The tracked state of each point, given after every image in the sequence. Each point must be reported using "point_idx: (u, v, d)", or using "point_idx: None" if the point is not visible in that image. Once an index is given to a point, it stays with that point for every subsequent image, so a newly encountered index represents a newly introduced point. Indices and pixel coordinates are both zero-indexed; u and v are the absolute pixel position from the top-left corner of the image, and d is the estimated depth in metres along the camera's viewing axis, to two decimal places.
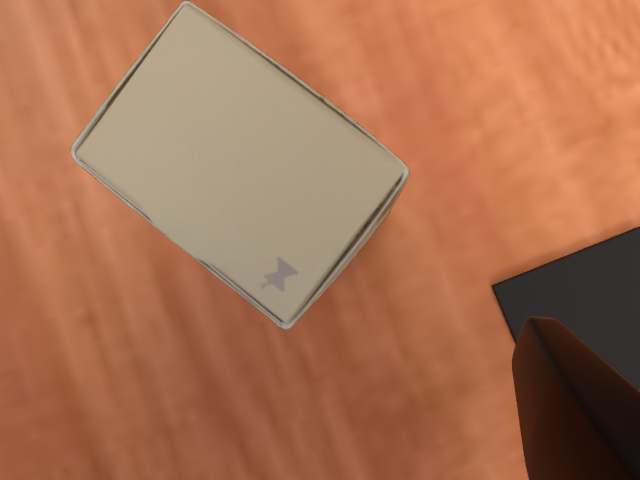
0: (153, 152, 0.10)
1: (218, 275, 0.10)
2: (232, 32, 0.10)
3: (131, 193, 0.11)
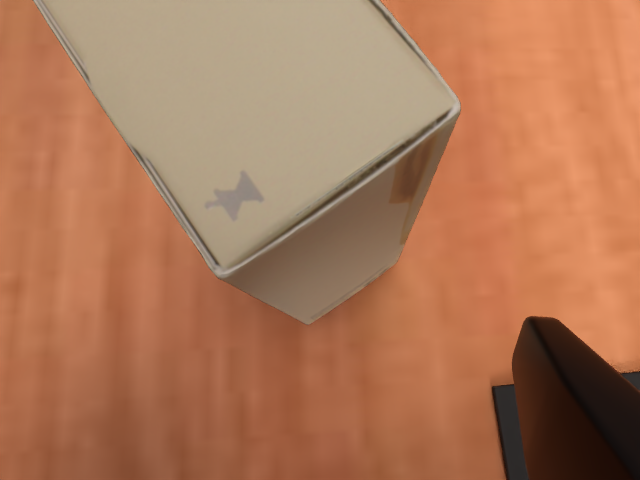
0: None
1: (152, 176, 0.07)
2: None
3: (78, 40, 0.08)
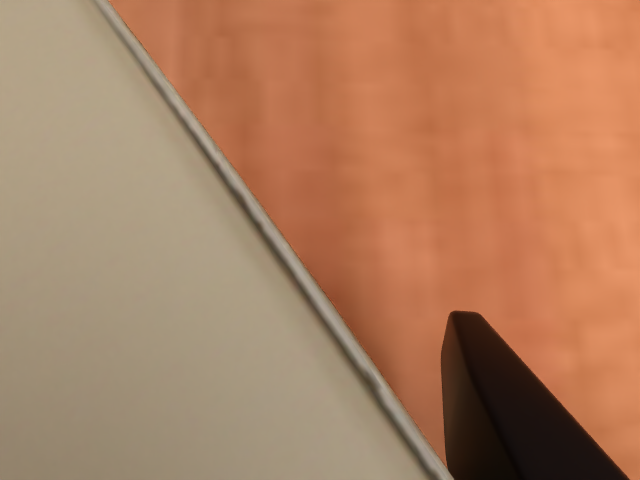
0: None
1: None
2: (129, 40, 0.03)
3: None
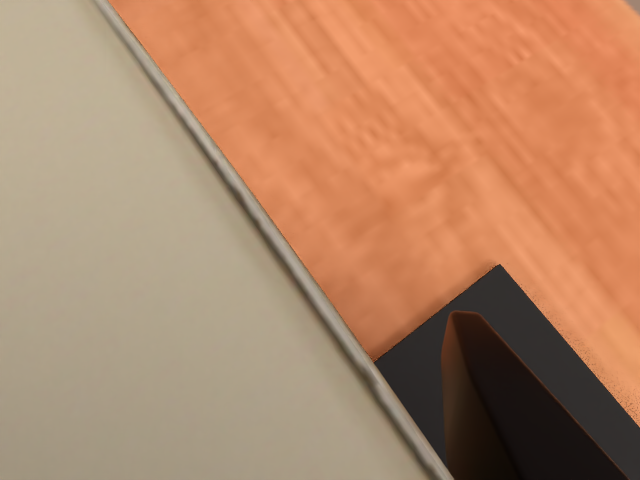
0: None
1: None
2: (127, 38, 0.03)
3: None
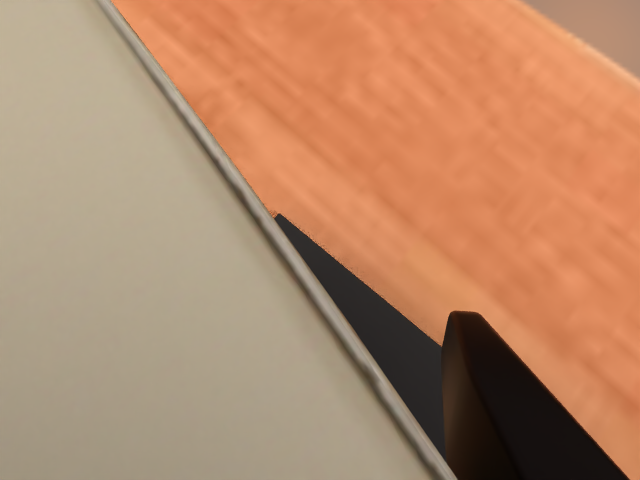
0: None
1: None
2: (129, 36, 0.03)
3: None
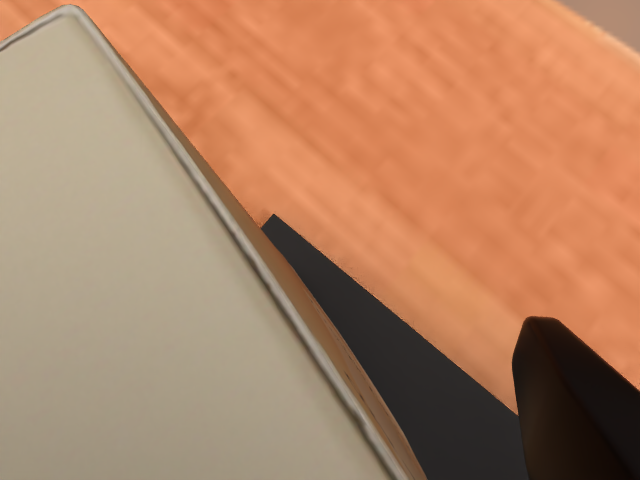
0: None
1: None
2: (160, 125, 0.03)
3: None
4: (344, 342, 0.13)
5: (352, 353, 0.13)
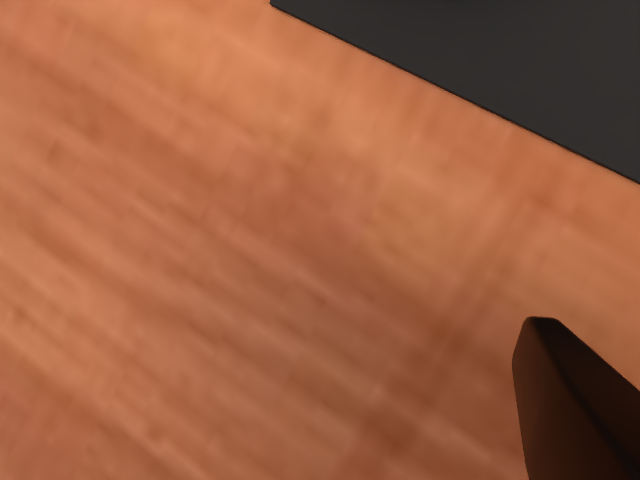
0: None
1: None
2: None
3: None
4: None
5: None
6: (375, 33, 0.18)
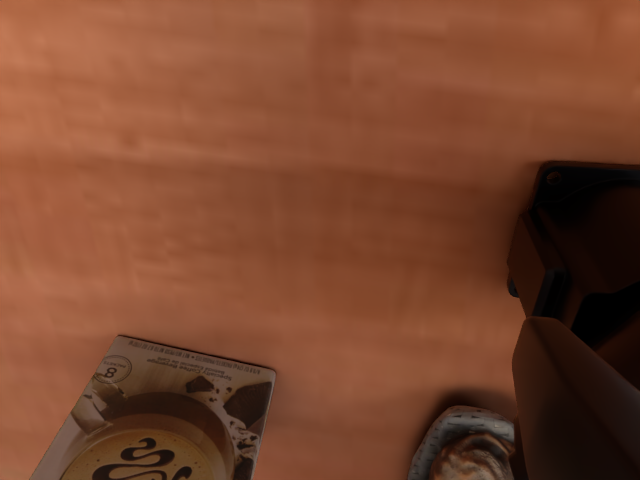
0: None
1: None
2: None
3: None
4: None
5: None
6: None
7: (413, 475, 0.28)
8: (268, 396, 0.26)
